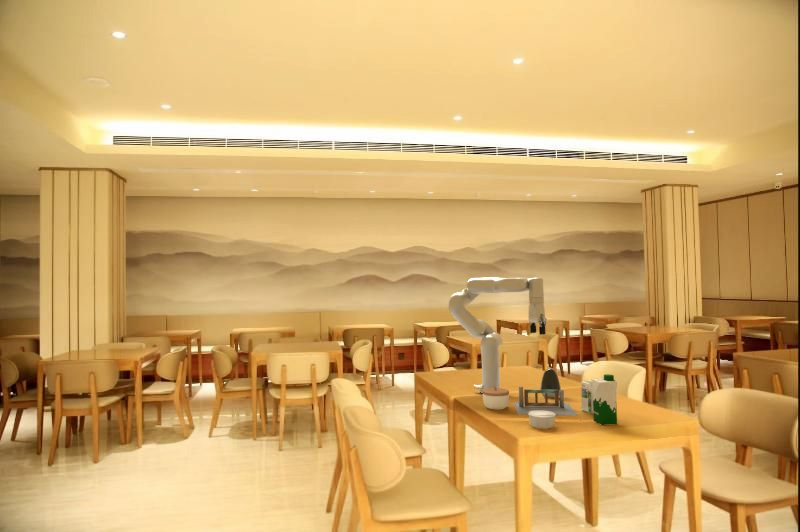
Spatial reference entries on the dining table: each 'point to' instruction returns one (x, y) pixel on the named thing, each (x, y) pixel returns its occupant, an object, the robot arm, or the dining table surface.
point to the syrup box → (587, 396)
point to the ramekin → (542, 419)
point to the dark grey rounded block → (550, 382)
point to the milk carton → (605, 400)
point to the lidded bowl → (495, 398)
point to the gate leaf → (537, 397)
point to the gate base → (562, 410)
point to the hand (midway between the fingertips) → (537, 333)
